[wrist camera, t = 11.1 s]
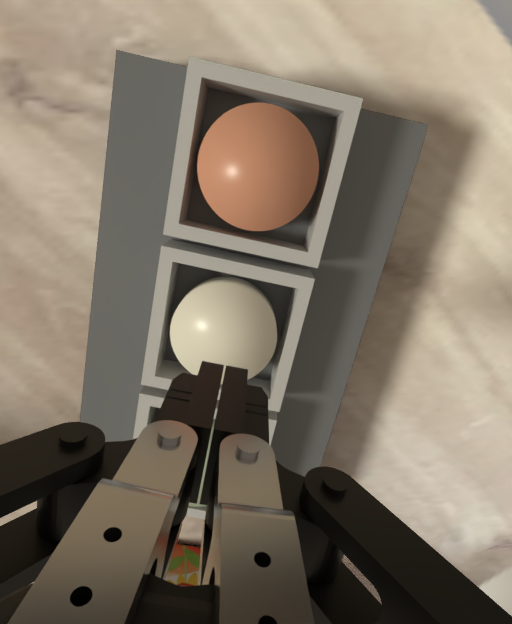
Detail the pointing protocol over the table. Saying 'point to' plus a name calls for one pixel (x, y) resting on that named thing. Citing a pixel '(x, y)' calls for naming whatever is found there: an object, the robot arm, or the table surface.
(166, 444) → the robot arm
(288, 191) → the terracotta button
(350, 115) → the button panel
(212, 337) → the cream button
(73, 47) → the table surface
